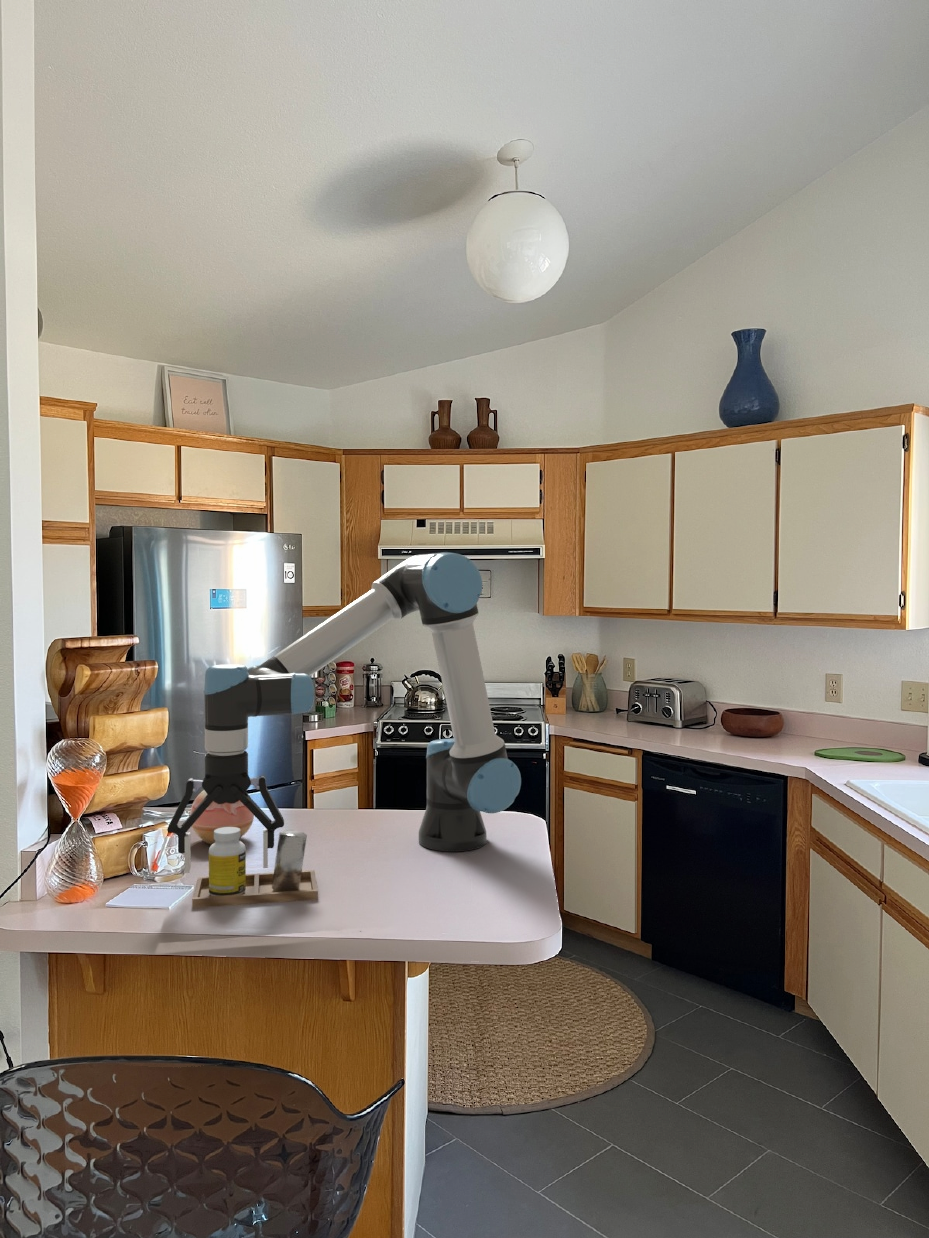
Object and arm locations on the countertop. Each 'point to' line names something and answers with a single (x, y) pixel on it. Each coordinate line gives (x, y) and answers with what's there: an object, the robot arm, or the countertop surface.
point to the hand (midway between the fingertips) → (227, 868)
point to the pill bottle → (227, 863)
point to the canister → (289, 861)
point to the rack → (256, 891)
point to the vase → (220, 818)
